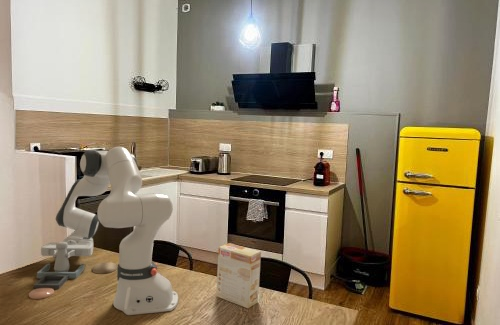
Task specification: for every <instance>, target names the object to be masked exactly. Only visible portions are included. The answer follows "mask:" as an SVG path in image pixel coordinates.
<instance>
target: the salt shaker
mask: <svg viewBox="0 0 500 325" xmlns="http://www.w3.org/2000/svg"><path fill="white" fill-rule="evenodd" d="M56 243H57V244H56V248H57V249H58V250H57V257H56V258H55V261H54V265H53V266H54V267H53V271H54V272H69V270H70V266H71V265H70V261H69V260H70V259H69V258H66V256H65V254H66V253H67V250H66V248H67V247H68V243H67V242H63V241H58V242H56Z"/></svg>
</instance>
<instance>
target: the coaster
mask: <svg viewBox="0 0 500 325" xmlns="http://www.w3.org/2000/svg"><path fill="white" fill-rule="evenodd" d="M54 293H55V289H52V288H38V289H33V290H31V291H29V293H28V298H30V299H31V300H42V299H46V298H50V297H51V296H52V295H54Z"/></svg>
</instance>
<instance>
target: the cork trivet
mask: <svg viewBox="0 0 500 325" xmlns="http://www.w3.org/2000/svg"><path fill="white" fill-rule="evenodd" d="M117 267H118V264H117V263H115V262H107V261H106V262H100V263H97V264H95V265H94V266H92V269H91V270H92V272H93V273H94V274H103V275H104V274H105V275H106V274H110V273H113V272H114V273H115V271H116V272H117Z"/></svg>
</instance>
